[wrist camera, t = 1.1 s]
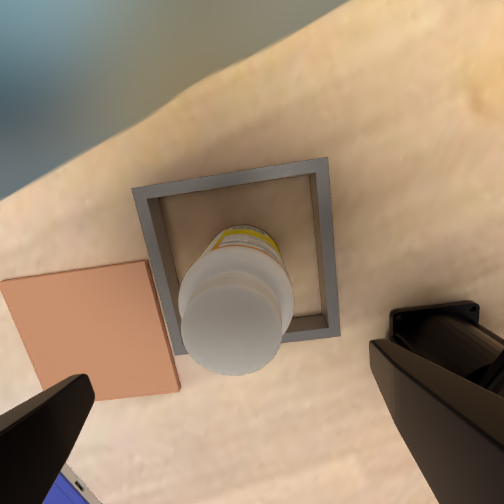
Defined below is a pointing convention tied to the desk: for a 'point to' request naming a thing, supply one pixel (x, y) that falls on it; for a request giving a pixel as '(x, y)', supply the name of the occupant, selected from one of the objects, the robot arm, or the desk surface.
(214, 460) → the desk surface
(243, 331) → the supplement bottle
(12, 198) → the desk surface
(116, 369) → the pad
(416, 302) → the desk surface
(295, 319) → the square frame
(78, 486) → the hard drive
